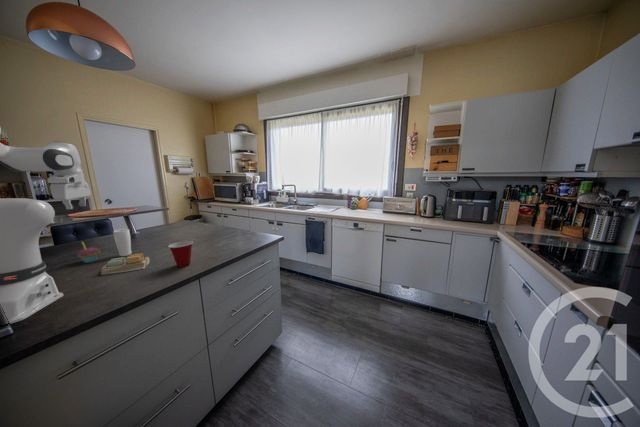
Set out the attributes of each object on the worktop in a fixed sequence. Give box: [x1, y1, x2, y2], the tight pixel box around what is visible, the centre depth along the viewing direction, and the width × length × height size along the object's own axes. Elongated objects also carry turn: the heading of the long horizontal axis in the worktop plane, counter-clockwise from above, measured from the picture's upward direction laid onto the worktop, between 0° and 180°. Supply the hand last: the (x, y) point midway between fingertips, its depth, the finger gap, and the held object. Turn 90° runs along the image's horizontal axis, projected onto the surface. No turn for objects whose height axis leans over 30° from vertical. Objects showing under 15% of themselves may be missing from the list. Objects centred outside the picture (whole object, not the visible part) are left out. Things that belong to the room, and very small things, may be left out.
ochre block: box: [126, 252, 144, 264], centre depth 107 cm, size 5×5×5 cm
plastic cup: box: [168, 240, 194, 268], centre depth 109 cm, size 11×11×12 cm
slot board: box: [100, 256, 151, 276], centre depth 106 cm, size 10×16×5 cm, turn 114°
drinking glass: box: [112, 228, 132, 257], centre depth 121 cm, size 7×7×15 cm
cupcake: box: [76, 241, 101, 263], centre depth 113 cm, size 9×8×12 cm
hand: (76, 207), depth 100 cm, fingers open, 8 cm apart
